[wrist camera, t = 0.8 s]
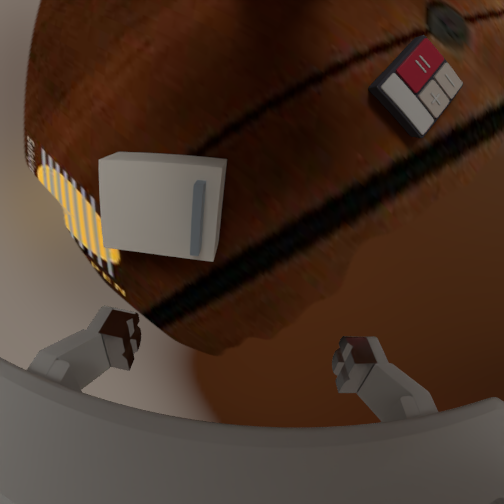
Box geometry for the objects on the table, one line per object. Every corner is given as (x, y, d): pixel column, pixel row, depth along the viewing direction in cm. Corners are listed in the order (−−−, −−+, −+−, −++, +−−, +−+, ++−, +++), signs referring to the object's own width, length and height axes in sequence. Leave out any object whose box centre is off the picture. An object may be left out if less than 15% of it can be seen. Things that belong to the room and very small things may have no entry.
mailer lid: (100, 159, 36) (90, 163, 33) (222, 166, 36) (219, 171, 34) (105, 245, 42) (97, 254, 39) (213, 259, 43) (211, 270, 40)
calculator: (466, 84, 31) (424, 140, 35) (452, 84, 34) (410, 137, 39) (426, 32, 27) (377, 86, 32) (413, 37, 31) (366, 89, 36)
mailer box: (118, 151, 41) (101, 158, 36) (227, 159, 42) (222, 166, 37) (120, 229, 48) (106, 244, 42) (218, 241, 49) (214, 258, 43)
